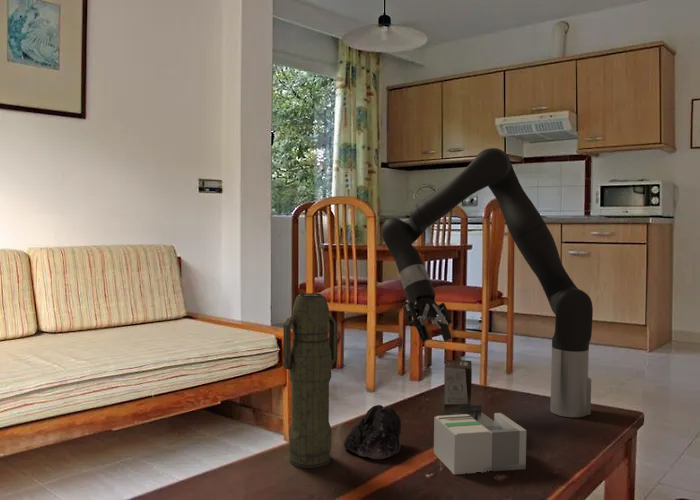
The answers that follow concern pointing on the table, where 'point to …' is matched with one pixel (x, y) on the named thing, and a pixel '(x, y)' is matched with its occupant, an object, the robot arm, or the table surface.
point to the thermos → (310, 379)
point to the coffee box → (457, 384)
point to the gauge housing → (479, 444)
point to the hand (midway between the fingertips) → (437, 340)
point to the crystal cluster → (376, 434)
